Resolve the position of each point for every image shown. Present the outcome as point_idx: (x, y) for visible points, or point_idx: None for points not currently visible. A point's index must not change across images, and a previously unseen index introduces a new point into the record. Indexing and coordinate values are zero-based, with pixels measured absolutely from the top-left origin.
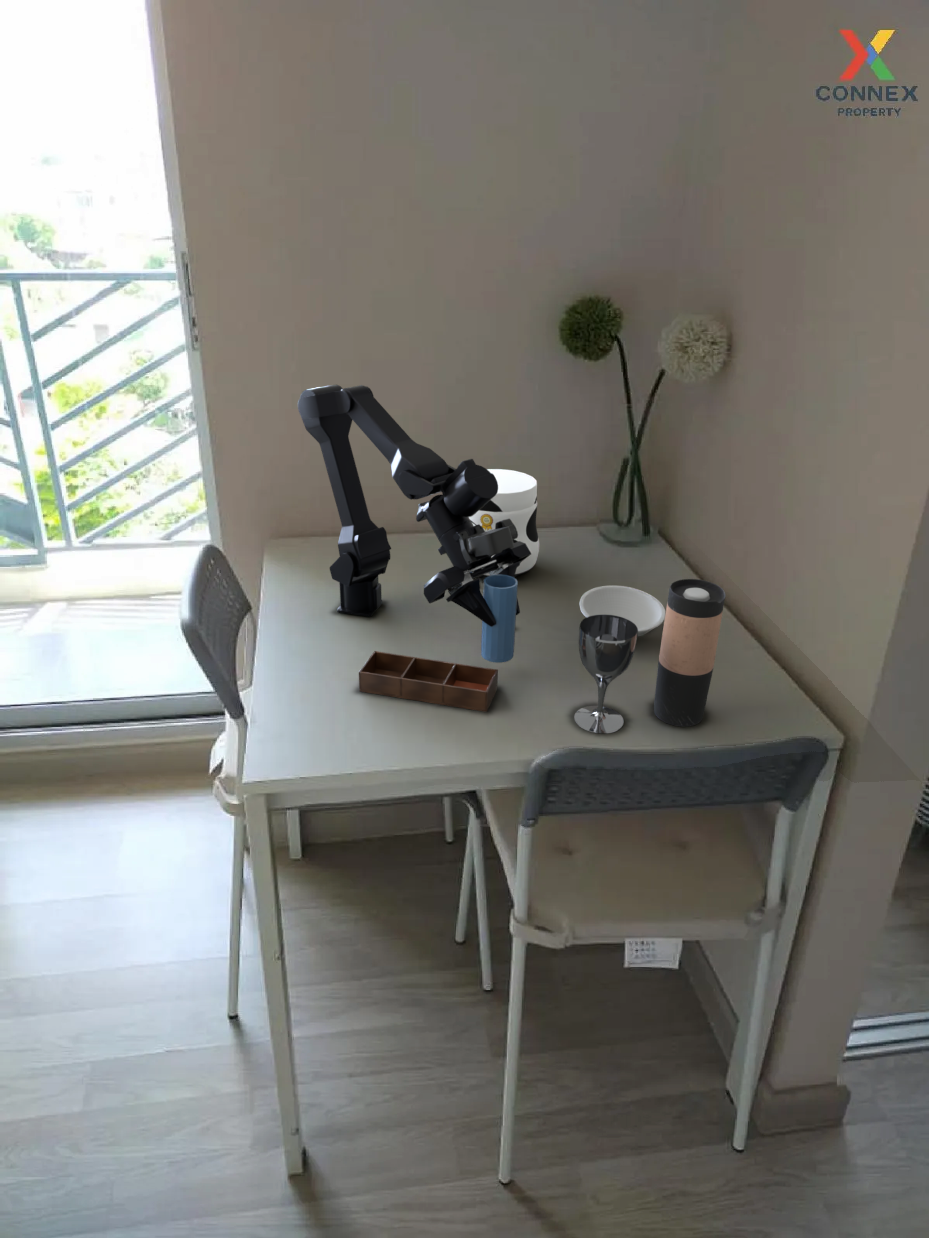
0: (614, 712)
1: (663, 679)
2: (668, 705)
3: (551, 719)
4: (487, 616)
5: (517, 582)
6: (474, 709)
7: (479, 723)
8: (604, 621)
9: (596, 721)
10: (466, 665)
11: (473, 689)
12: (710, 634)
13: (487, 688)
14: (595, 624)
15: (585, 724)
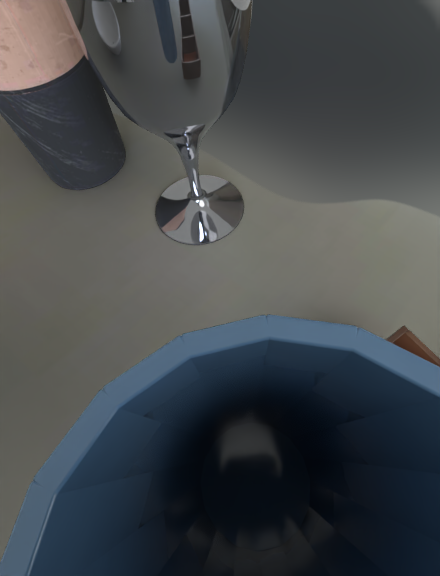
0: (164, 202)
1: (94, 87)
2: (114, 123)
3: (270, 250)
4: None
5: (114, 382)
6: None
7: (418, 320)
8: (80, 20)
9: (216, 194)
10: None
11: (437, 360)
12: None
13: (394, 339)
14: (110, 40)
15: (234, 204)
